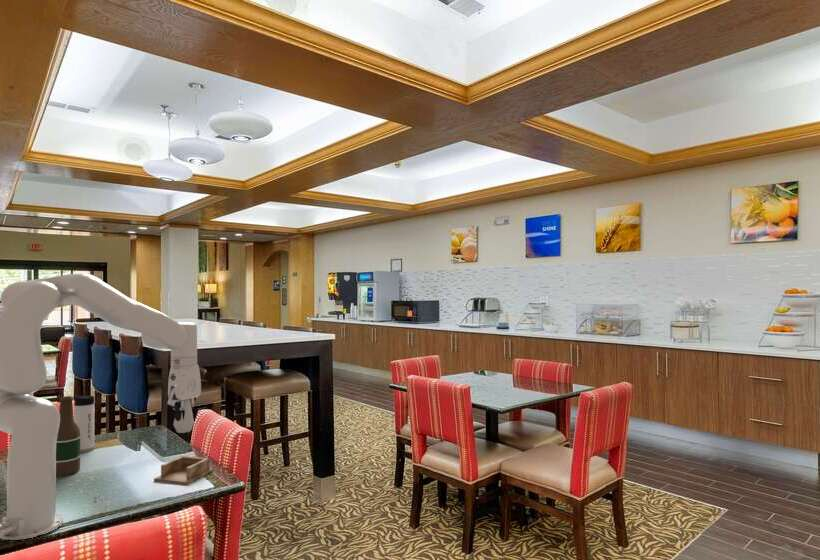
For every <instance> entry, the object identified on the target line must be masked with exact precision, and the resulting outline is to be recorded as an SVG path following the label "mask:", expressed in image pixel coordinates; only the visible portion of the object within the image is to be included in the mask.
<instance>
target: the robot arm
mask: <svg viewBox="0 0 820 560" xmlns="http://www.w3.org/2000/svg"><path fill="white" fill-rule="evenodd" d="M0 303H1V305H2V307H3V308H4V310H3V311H2V312H1V314H0V431H1V432H2V433H6V434H9V435H11V440H10V444H9V448H8V452H7V460H6V461H7V462H6V463H7V464H6V465H7V466H6V470H7V475H6V480H7V481H6V482H7V483H6V516H3V517H1V522H0V538H2V539H6V540H7V539H9V540H18V539H19V540H20V539H26V538H32V539H34V538H33V537H36V536H37V535H40V534H43V533H47V532H49V531H52V530H54V531H56V530H58V529H59V528H60V527H61V526H62V525H63V524H64V517H63V516H62V515H61V514H58V513H57V512H56V506H57V505H56V503H57V501H56V499H57V498H56V495H57V491H56V489H57V484H56V483H57V482H56V481H57V477H56V442H57V435H58V430H59V425H60V413H59V411H60V409H59V408H58V407H57V406H56V404H55V403H54V402H52V401H50V400H49V399H46V398H42V397H37V396H34V393H35V392H38V391H39V390H41V389H42V388H43V387H44V385H45V383H46V381H47V378H48V377H47V376H48V375H47V372H48V371H47V367H46V363H45V362H46V361H45V358H44V357H45V356H44V353H43V347H42V339H41V330H42V325H43V323H44V321H45V320H46V318H47V317H49V315H50V314H51V313H52V312H53V311H55V310H56V309H58V308H62V307H68V306H77V307H80V308H82V309H83V310H84V311H87V312H89V313H91V314H93V315H94V316H96V317H98V318H100V319H101V320H103V321H104V322H107V324H110V325H112V326H115V327H118V328H120V329H124V330H130V331H134V332H137V333H140V334H141V336H140V337H141V340H142V341H141V342H143V344H145V345H146V346H147V347H150V348H154V349H166V350H167V349H168V350H170V369H169V373H168V374H169V375H168V382H167V383H168V384H167V398H168V400H167V403H166V405H168V406H171V407H172V409H173V410H174V419H176V421H180V420H181V413H182V416H183V420H184V415H185V410H183V407H184V400H187V399H190V403H191V408H192V414H193V415H194V407H195V402H196V400H197V399H198V397H199V396H200V395H201V393H202V382H201V380H202V379H201V371H200V366H199V364H198V325H197V324H196V323H195V322H191V321H190V322H189V321H188V322H187V321H185V322H184V321H183V322H182V321H181V322H178V321H177V320H174V318H172V317H170V316H168V315H166V314H164V313H163V312H161V311H159V310H156V309H155V308H152V307H149V306H148V305H145V304H143V303H141V302H138V301H137V300H134V299H132V298H130V297H128V296H127V295H126V294H124V293H122V292H121V291H119V290H118V289H116V288H115V287H113V286H111V285H109V284H107V283H106V282H105V281H103V280H102V279H100V278H99V277H97V276H94V275H92V274H89V273H71V274H62V275H58V276H52V277H51V276H50V277H45V278H38V279H31V280H24V281H23V280H22V281H17V282H14V283H12V284H9V285H8V286H6V288H4V290H2V292H1V295H0ZM178 402H180V404H179V403H178ZM56 513H57V514H56ZM59 526H60V527H59ZM58 527H59V528H58ZM57 528H58V529H57ZM55 529H56V530H55ZM52 532H53V531H52ZM36 538H37V537H36Z"/></svg>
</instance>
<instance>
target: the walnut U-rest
mask: <svg viewBox="0 0 820 560" xmlns="http://www.w3.org/2000/svg"><path fill="white" fill-rule="evenodd" d="M210 461H211V459H210V457H209V458H208V457H199V456H190V455H189V456H188V455H181V456H178V457H176V458H174V459H172V460H170V461H167V462H164V463H163V464H161V466H160V475H159V476H156V477H155V478H153V482H158V483H166V484H172V485H173V484H175V485H182V484H183V485H184V486H189V485H190V483H191V484H193V483H194V482H196V481H197V479H198V480H200V479H202V478H203V476H204V475H206V474H207V475H209V474H211V473H213V472H214V468H210V464H211V463H210ZM212 471H213V472H212ZM210 472H211V473H210ZM208 473H209V474H208ZM207 475H206V476H207ZM201 477H202V478H201ZM204 477H205V476H204ZM199 478H200V479H199ZM188 484H189V485H188Z"/></svg>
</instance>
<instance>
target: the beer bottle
mask: <svg viewBox="0 0 820 560" xmlns="http://www.w3.org/2000/svg"><path fill="white" fill-rule="evenodd" d="M73 400H74V398H73V396H71V395H70V396H62V397H60V398H59V400H58V402H59V413H60V425H59V430H58V435H57V442H56V478H58V477H59V476H60V477H66V476H67V477H68V476H71V474H72V475H75V474H76V472H77V473H78V472H79V471H80V469H81V453H80V429H79V427H78V425H77V424H76V423H75V422H74V409H73V407H74V406H73ZM60 477H59V478H60Z"/></svg>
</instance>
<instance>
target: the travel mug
mask: <svg viewBox="0 0 820 560" xmlns="http://www.w3.org/2000/svg"><path fill="white" fill-rule="evenodd" d="M72 397H73V399H74V406H73V407H74V409H73V418H74V422H75V423H76V424H77V425H78V427H79V429H80V454H82V453H88V452H90V451H93V450H94V449H95V403H96V402H95V396H94V395H90V394H89V395H88V394H83V395H81V394H80V395H76V394H74V395H73V396H72Z"/></svg>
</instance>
